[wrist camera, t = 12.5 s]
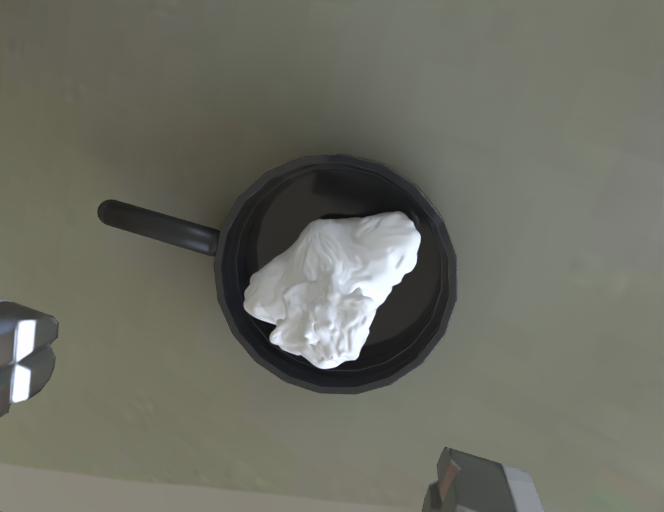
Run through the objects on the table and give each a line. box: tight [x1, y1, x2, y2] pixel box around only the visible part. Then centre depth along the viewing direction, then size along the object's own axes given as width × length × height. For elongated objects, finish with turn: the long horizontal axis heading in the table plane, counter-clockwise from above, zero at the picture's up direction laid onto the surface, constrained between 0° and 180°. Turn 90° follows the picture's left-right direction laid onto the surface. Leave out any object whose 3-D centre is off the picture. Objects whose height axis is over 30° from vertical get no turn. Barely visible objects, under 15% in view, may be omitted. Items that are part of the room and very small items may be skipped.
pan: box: [214, 154, 457, 394], centre depth 30 cm, size 15×15×4 cm
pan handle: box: [97, 200, 220, 257], centre depth 31 cm, size 9×2×2 cm, turn 76°
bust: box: [244, 211, 421, 369], centre depth 27 cm, size 12×8×11 cm
